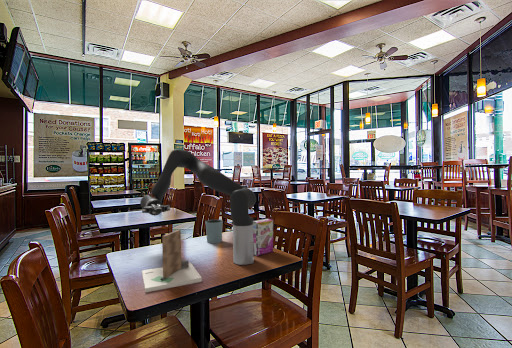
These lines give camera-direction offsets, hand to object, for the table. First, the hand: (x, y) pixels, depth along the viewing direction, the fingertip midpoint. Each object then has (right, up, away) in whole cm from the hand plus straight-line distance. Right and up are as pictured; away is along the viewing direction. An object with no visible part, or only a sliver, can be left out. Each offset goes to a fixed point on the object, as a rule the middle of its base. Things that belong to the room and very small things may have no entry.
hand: (158, 211), depth 123 cm
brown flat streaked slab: (+10, -23, -11) cm, 27 cm away
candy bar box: (+46, -23, +18) cm, 55 cm away
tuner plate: (+9, -25, -12) cm, 29 cm away
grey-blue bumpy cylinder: (+18, -23, +40) cm, 50 cm away
